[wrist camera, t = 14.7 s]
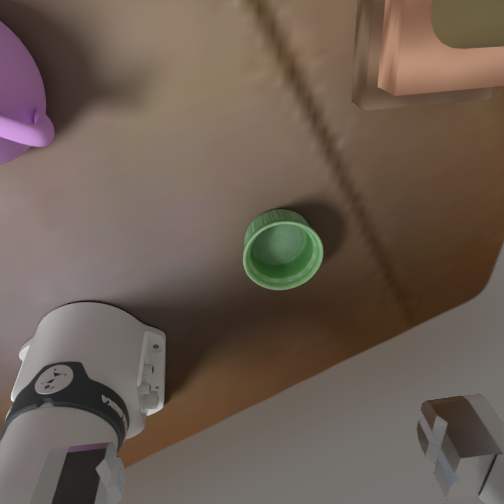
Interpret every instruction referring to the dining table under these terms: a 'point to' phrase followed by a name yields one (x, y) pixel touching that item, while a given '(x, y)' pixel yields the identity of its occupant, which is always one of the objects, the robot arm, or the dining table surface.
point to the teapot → (20, 100)
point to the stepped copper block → (415, 60)
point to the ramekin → (281, 250)
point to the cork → (468, 23)
